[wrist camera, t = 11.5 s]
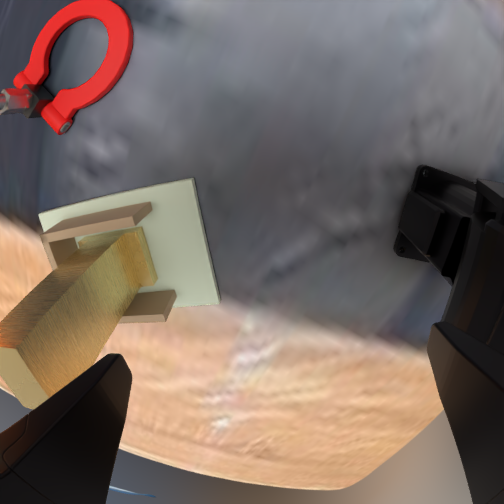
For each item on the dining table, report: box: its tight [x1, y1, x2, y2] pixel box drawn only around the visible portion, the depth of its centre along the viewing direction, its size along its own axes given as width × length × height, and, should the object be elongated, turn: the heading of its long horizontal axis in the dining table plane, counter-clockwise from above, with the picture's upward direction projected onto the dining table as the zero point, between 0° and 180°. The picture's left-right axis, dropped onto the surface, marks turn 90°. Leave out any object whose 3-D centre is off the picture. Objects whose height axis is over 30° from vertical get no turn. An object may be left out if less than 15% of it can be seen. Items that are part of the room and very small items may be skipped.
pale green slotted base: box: [39, 178, 221, 323], centre depth 20 cm, size 13×9×4 cm
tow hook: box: [0, 0, 133, 135], centre depth 10 cm, size 8×13×9 cm
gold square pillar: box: [0, 226, 158, 409], centre depth 16 cm, size 5×4×12 cm
